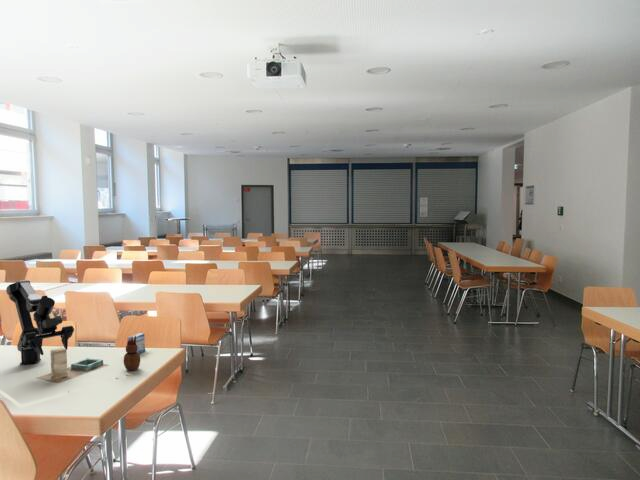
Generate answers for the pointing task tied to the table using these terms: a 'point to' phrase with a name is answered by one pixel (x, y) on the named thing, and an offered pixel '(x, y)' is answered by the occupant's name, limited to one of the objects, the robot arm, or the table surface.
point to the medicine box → (139, 341)
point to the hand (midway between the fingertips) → (54, 351)
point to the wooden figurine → (131, 355)
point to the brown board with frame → (77, 370)
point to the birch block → (58, 363)
